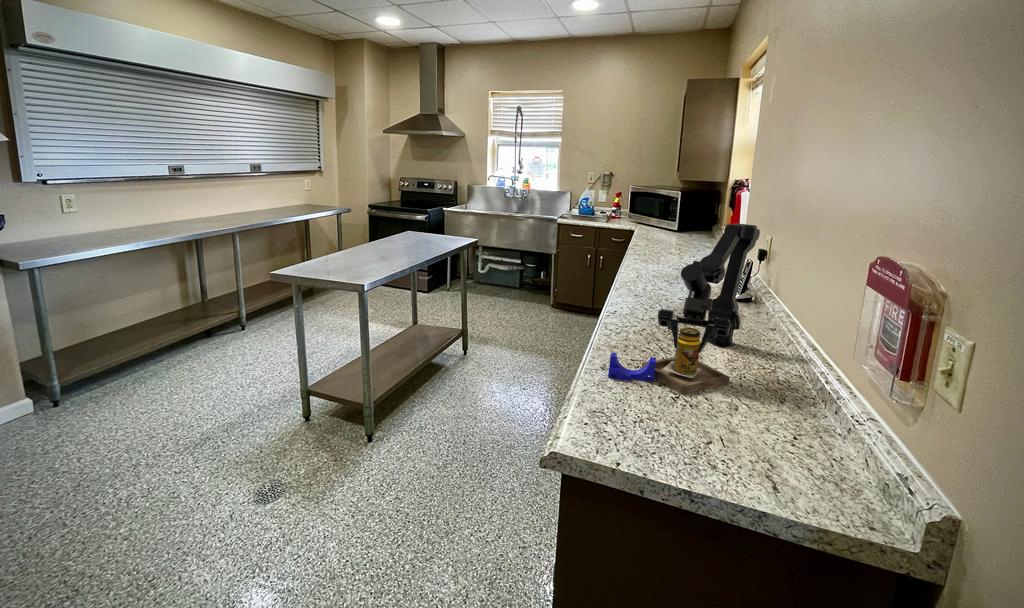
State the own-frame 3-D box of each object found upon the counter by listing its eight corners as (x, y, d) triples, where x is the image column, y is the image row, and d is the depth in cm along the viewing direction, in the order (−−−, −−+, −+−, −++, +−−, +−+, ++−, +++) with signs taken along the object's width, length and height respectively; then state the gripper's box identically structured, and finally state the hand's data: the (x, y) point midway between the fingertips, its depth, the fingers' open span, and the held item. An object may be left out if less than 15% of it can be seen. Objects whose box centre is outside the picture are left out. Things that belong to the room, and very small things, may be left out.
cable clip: (608, 378, 138) (609, 358, 136) (609, 372, 142) (611, 352, 140) (653, 384, 135) (655, 364, 133) (653, 378, 139) (655, 357, 137)
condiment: (692, 378, 134) (698, 336, 131) (662, 370, 139) (667, 329, 136) (701, 369, 140) (707, 329, 136) (671, 361, 145) (676, 322, 141)
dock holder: (686, 361, 150) (687, 354, 149) (728, 384, 135) (730, 377, 135) (641, 369, 143) (642, 362, 143) (680, 394, 129) (681, 386, 128)
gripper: (662, 281, 139) (649, 330, 133) (735, 290, 131) (725, 343, 125) (664, 301, 149) (653, 348, 142) (733, 310, 141) (723, 361, 134)
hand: (687, 349), depth 136 cm, fingers closed on condiment, 6 cm apart
